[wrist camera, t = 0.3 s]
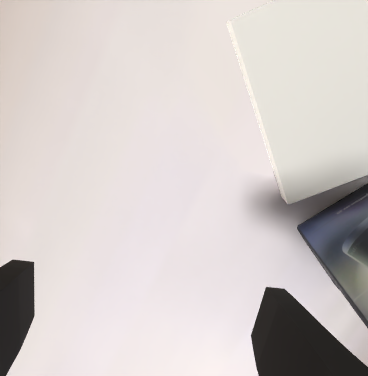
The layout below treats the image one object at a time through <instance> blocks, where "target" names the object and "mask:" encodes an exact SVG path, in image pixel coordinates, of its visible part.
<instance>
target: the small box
mask: <svg viewBox="0 0 368 376" xmlns="http://www.w3.org/2000/svg"><path fill="white" fill-rule="evenodd" d="M297 229H298V231H299V233H300V234H301V235H302V237H303V239H304V240H305V242H306V243H307V245H308V246H309V248H310V249H311V251H312V252H313V254H314V255H315V256H316V258H317V259H318V261H319V262H320V264H321V265H322V266H323V268H324V270H325V271H326V273H327V274H328V275H329V277H330V278H331V280H332V281H333V283H334V284H335V285H336V287H337V288H338V289H339V290H340V291H341V292H342V294H343V295H344V296H345V298H346V299H347V300H348V302H349V303H350V305H351V306H352V308H353V309H354V310H355V311H356V313H357V314H358V316H359V317H360V318H361V320H362V321H363V322H364V324H365V325H366V326H367V328H368V184H366V185H365V186H363V187H361V188H360V189H358V190H356V191H355V192H353V193H351V194H350V195H348V196H347V197H345V198H343V199H342V200H340V201H338V202H337V203H335V204H333V205H332V206H330V207H328V208H327V209H325V210H323V211H322V212H320V213H319V214H317V215H315V216H314V217H312V218H310V219H309V220H307V221H305V222H304V223H302V224H300V225H298V227H297Z"/></svg>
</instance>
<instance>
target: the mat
mask: <svg viewBox="0 0 368 376" xmlns="http://www.w3.org/2000/svg"><path fill="white" fill-rule="evenodd" d="M226 24H227V27H228V30H229V33H230V36H231V39H232V42H233V46H234V49H235V52H236V55H237V58H238V61H239V64H240V68H241V71H242V74H243V77H244V80H245V83H246V86H247V90H248V93H249V96H250V99H251V102H252V105H253V108H254V112H255V115H256V118H257V121H258V124H259V127H260V130H261V134H262V137H263V140H264V143H265V146H266V149H267V152H268V156H269V159H270V162H271V165H272V168H273V171H274V175H275V178H276V181H277V184H278V187H279V190H280V193H281V197H282V198H283V199H284V200H285V202H286V203H287V204H288V205H290V204H292V203H295V202H298V201H300V200H303V199H306V198H308V197H311V196H313V195H316V194H319V193H321V192H324V191H327V190H329V189H332V188H335V187H337V186H340V185H343V184H345V183H348V182H351V181H353V180H356V179H358V178H361V177H364V176H366V175H368V0H273V1H271V2H268V3H266V4H264V5H262V6H260V7H257V8H255V9H253V10H251V11H248V12H246V13H244V14H242V15H240V16H237V17H235V18H233V19H231V20H229V21H228V22H226Z"/></svg>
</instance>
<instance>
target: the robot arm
mask: <svg viewBox="0 0 368 376" xmlns="http://www.w3.org/2000/svg"><path fill="white" fill-rule="evenodd" d="M33 318H34V262H29V261H20V260H11V261H10V262H8V263H6V264H5V265H3V266H2V267H0V376H6V375H7V373H8V371H9V369H10V367H11V366H12V364H13V362H14V360H15V358H16V357H17V355H18V353H19V351H20V349H21V347H22V345H23V342H24V340H25V338H26V335H27V333H28V330H29V328H30V325H31V323H32V321H33ZM251 338H252V344H253V351H254V356H255V361H256V367H257V371H258V374H259V376H368V367H367V366H366V365H365V364H364V363H362V362H361V361H360V360H359V359H358V358H357V357H356V356H354V355H353V354H352V353H351V352H350V351H349V350H348V349H347V348H346V347H345V346H343V345H342V344H341V343H340V342H339V341H338V340H337V339H336V338H335V337H334V336H333V335H332V334H331V333H330V332H329V331H328V330H327V329H326V328H325V327H323V326H322V325H321V324H320V323H319V322H318V321H317V320H316V319H315V318H314V317H313V316H312V315H311V314H310V313H309V312H308V311H307V310H306V309H305V308H304V307H303V306H302V305H301V304H300V303H299V302H298V301H297V300H296V299H295V298H294V297H293V296H292V295H291V294H290V293H288V292H287V291H286V290H285V289H280V288H271V287H266V289H265V292H264V296H263V299H262V302H261V305H260V309H259V312H258V315H257V318H256V321H255V325H254V328H253V331H252V334H251Z"/></svg>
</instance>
